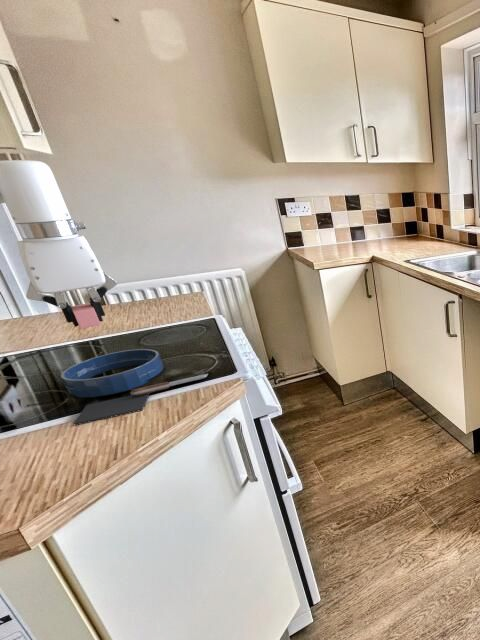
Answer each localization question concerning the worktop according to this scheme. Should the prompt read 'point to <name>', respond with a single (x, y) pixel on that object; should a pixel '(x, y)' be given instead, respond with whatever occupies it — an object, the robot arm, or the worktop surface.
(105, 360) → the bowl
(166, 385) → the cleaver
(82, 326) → the eraser
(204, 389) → the worktop surface
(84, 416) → the mat
